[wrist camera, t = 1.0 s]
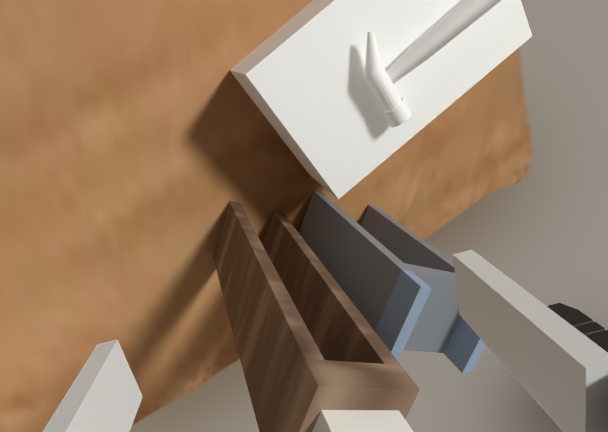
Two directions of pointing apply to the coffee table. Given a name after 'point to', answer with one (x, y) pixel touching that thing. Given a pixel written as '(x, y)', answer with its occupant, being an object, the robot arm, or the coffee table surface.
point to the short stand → (393, 281)
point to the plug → (361, 421)
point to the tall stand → (300, 331)
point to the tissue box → (372, 75)
